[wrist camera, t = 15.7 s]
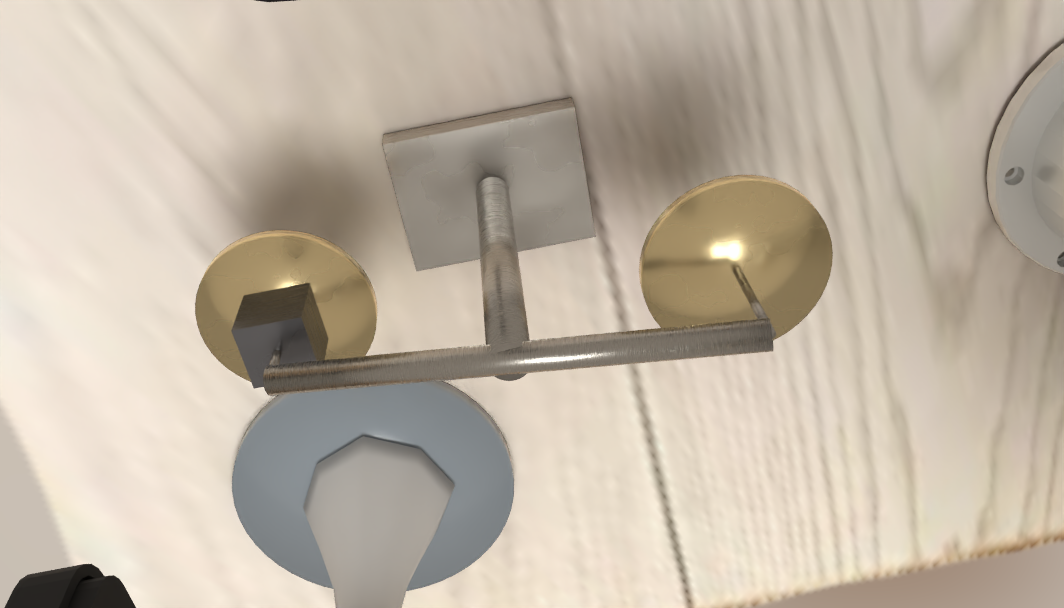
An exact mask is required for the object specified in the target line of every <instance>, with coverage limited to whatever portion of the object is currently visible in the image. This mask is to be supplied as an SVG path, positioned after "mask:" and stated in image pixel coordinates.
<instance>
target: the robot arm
mask: <svg viewBox="0 0 1064 608" xmlns="http://www.w3.org/2000/svg"><path fill="white" fill-rule="evenodd" d="M987 187H988V198H989V203H990V206H991V209H992V211H993V214H994V217H995V220H996V222H997V224H998V225H999V227H1000V228H1001V230H1002V231H1003V233H1004V234H1005V236H1006V237H1007V239H1008V240H1009V241H1010V242H1012V243H1013V244H1014V245H1015V246H1016V247H1017V248H1018V249H1019V250H1020V251H1021V252H1022V253H1023V254H1024V255H1025V256H1027V257H1028V258H1030V259H1031V260H1033V261H1034V262H1036V263H1037V264H1038V265H1040V266H1042V267H1044V268H1047V269H1049V270H1052V271H1054V272H1057V273H1060V274H1064V43H1063V44H1061V45H1060V46H1059V47H1058V48H1056V49H1055V50H1054V51H1052V52H1051V53H1050V54H1049V55H1048V56H1047V57H1046V58H1045V59H1044V60H1043V61H1042V62H1041V63H1040V64H1039V65H1038V67H1037V68H1036V69H1035V70H1034V71H1033V72H1032V73H1031V74H1030V75H1029V76H1028V77H1027V79H1026V80H1025V81H1024V83H1023V84H1022V86H1021V87H1020V88H1019V90H1018V91H1017V93H1016V94H1015V95H1014V97H1013V98H1012V100H1011V101H1010V103H1009V105H1008V107H1007V109H1006V111H1005V113H1004V115H1003V117H1002V119H1001V121H1000V123H999V125H998V127H997V130H996V133H995V136H994V139H993V143H992V146H991V149H990V152H989V161H988V169H987ZM5 608H136V607H135V605H134V603H133V601H132V599H131V598H130V596H129V594H128V592H127V590H126V588H125V587H124V585H123V583H122V582H121V581H120V579H119V578H117V577H115V576H104V575H103V574H102V572H101V571H100V570H99V568H97V567H95V566H94V565H92V564H83V565H77V566H72V567H67V568H61V569H56V570H51V571H45V572H40V573H35V574H30V575H27V576H25V577H24V578H22V579H21V580H20V581H19V583H18V584H17V585H16V587H15V588H14V590H13V592H12V594H11V596H10V598H9V600H8V602H7V604H6V606H5Z"/></svg>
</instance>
